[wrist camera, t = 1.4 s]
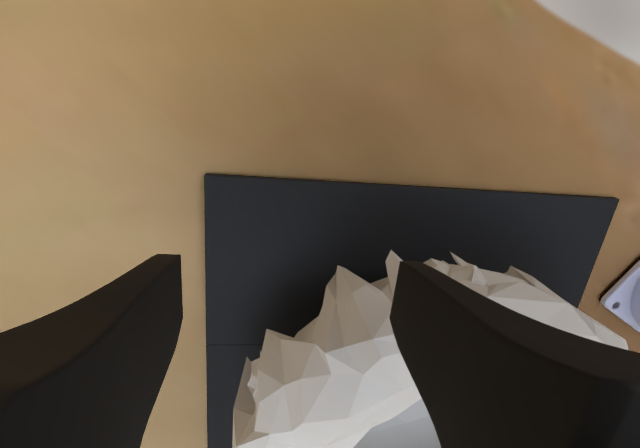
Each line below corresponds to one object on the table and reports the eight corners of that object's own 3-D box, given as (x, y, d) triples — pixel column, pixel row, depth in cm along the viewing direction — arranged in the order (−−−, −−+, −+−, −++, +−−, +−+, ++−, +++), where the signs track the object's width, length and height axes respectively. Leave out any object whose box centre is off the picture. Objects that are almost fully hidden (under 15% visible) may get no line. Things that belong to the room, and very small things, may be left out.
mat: (205, 173, 20) (204, 175, 20) (614, 197, 24) (619, 199, 24) (209, 551, 32) (209, 557, 31) (487, 529, 35) (490, 534, 35)
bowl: (541, 164, 22) (737, 236, 13) (550, 418, 30) (675, 575, 21) (182, 269, 22) (119, 420, 13) (288, 497, 30) (297, 692, 21)
